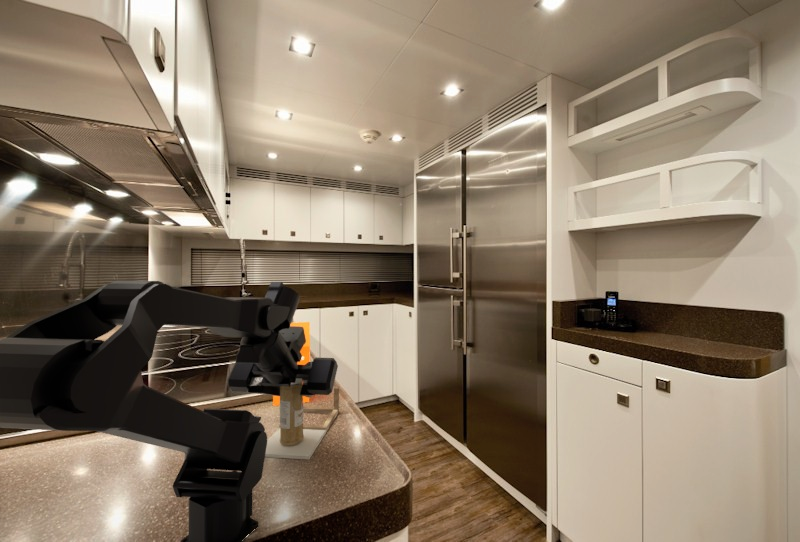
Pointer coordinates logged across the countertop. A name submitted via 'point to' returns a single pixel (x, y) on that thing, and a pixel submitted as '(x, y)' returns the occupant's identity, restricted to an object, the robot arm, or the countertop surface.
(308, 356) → the orange juice
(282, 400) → the sprinkles bottle
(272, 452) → the mat
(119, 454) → the countertop surface
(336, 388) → the frame
